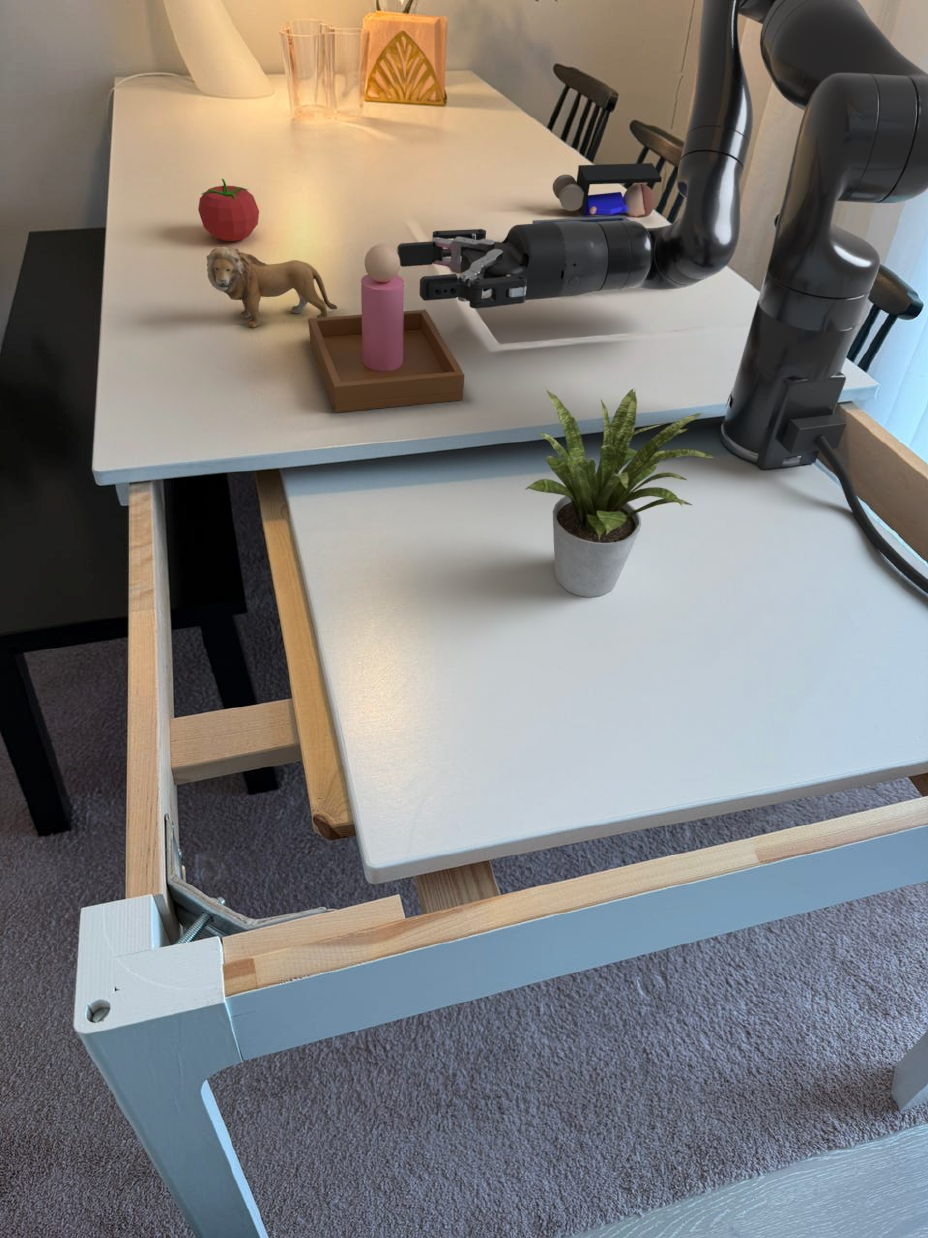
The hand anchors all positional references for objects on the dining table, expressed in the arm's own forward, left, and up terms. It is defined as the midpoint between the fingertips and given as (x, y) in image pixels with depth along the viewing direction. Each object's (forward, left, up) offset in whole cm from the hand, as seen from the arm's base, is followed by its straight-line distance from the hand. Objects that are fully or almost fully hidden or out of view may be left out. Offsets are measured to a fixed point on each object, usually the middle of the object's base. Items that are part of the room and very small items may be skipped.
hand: (409, 271), depth 94 cm
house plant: (-39, -6, -11) cm, 41 cm away
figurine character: (+40, -40, -11) cm, 58 cm away
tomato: (+40, +15, -11) cm, 44 cm away
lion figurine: (+14, +13, -11) cm, 22 cm away
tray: (0, +3, -11) cm, 11 cm away
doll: (0, +3, -10) cm, 10 cm away
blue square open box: (+22, -31, -11) cm, 40 cm away
